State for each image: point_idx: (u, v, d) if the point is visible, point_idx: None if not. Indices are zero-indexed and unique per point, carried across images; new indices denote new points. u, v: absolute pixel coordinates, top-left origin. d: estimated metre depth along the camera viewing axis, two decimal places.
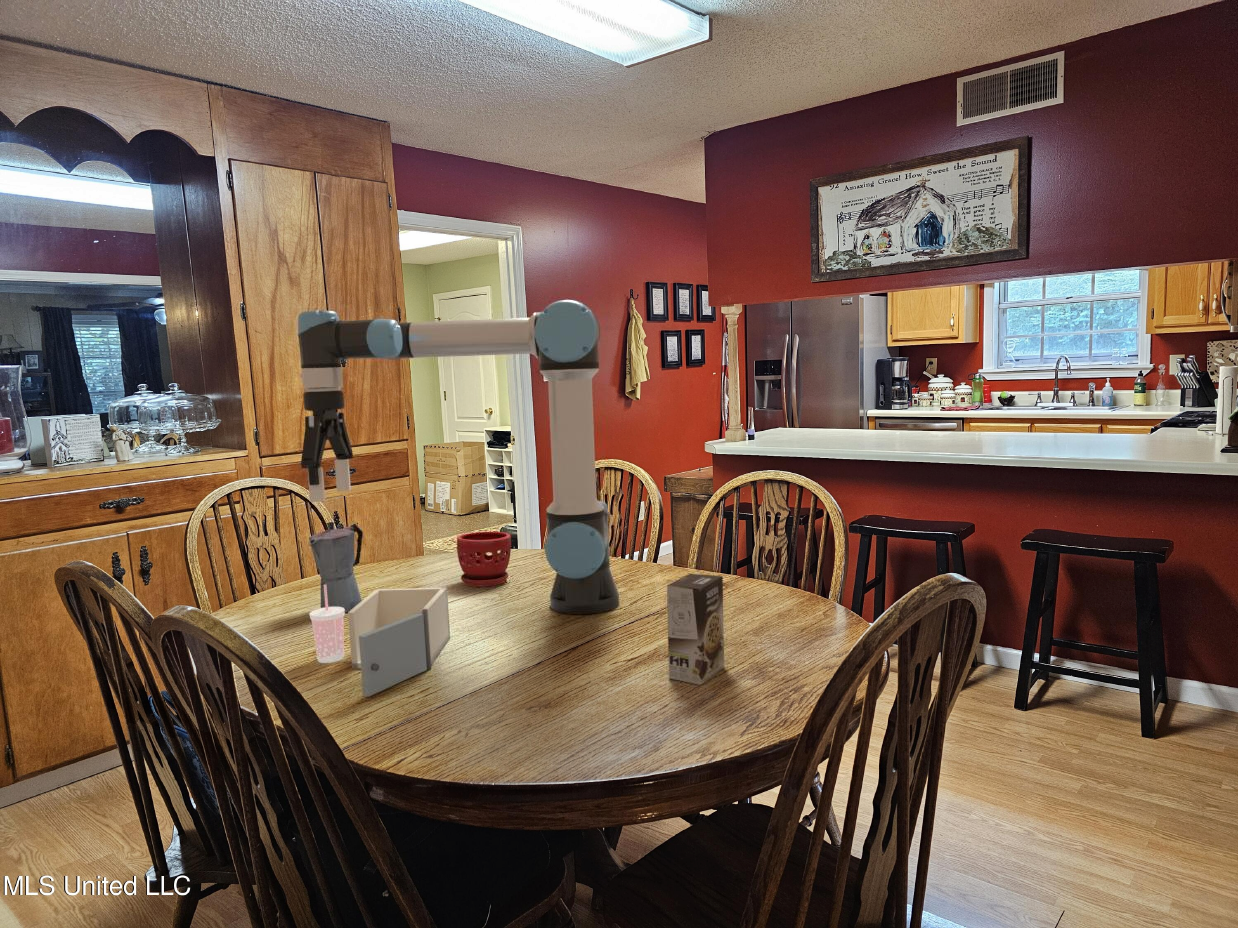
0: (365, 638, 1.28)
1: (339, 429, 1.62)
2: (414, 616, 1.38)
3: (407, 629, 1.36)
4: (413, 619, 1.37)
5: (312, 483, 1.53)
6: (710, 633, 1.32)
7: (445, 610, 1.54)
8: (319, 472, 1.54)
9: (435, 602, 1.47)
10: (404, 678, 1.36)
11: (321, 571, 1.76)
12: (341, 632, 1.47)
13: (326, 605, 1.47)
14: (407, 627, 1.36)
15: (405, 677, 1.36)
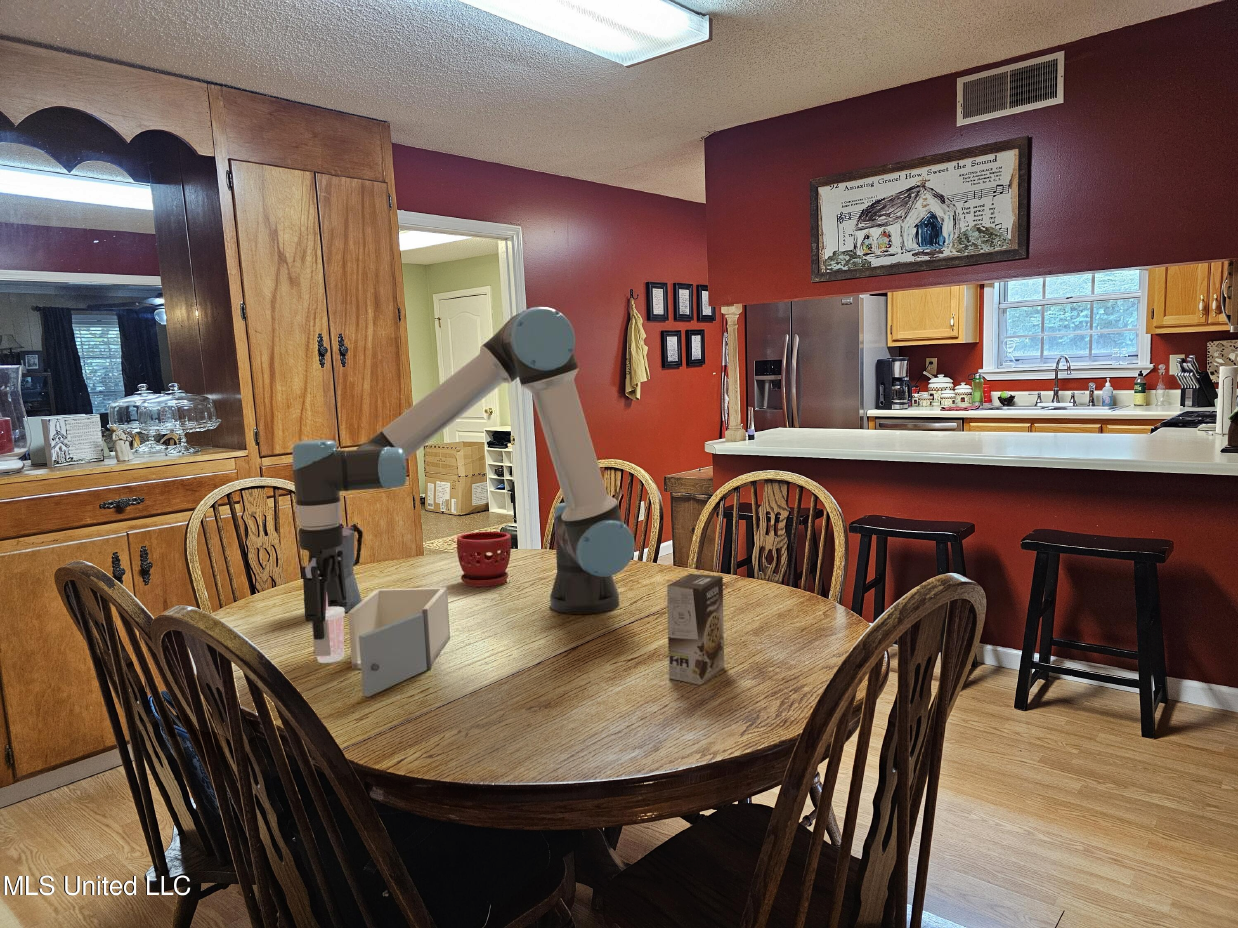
0: (365, 638, 1.28)
1: (336, 568, 1.48)
2: (414, 616, 1.38)
3: (407, 629, 1.36)
4: (413, 619, 1.37)
5: (317, 637, 1.43)
6: (710, 633, 1.32)
7: (445, 610, 1.54)
8: (324, 625, 1.44)
9: (435, 602, 1.47)
10: (404, 678, 1.36)
11: None
12: (341, 632, 1.47)
13: (326, 605, 1.47)
14: (407, 627, 1.36)
15: (405, 677, 1.36)
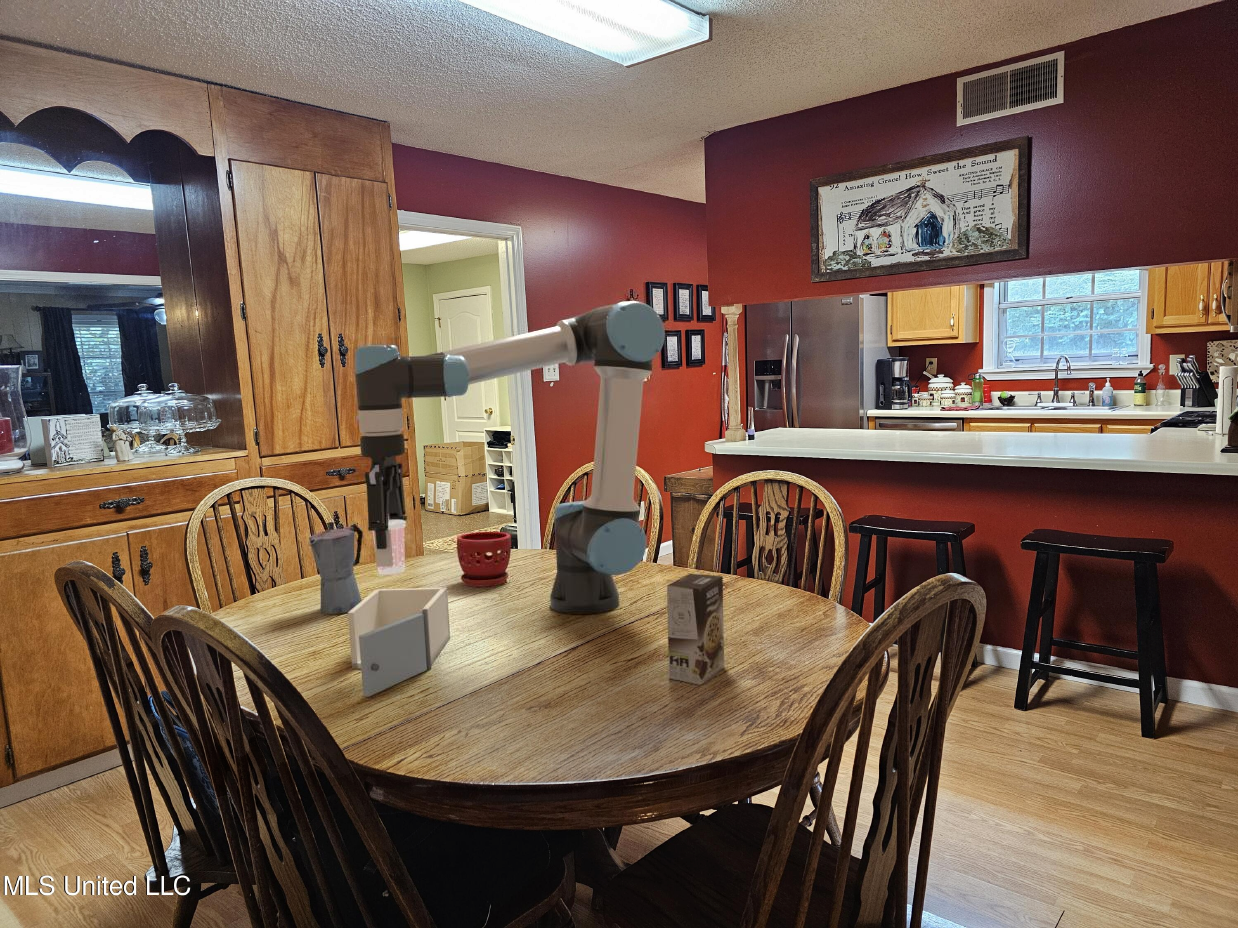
0: (365, 638, 1.28)
1: (397, 479, 1.44)
2: (414, 616, 1.38)
3: (407, 629, 1.36)
4: (413, 619, 1.37)
5: (380, 547, 1.39)
6: (710, 633, 1.32)
7: (445, 610, 1.54)
8: (386, 534, 1.40)
9: (435, 602, 1.47)
10: (404, 678, 1.36)
11: (321, 571, 1.76)
12: (402, 544, 1.43)
13: None
14: (407, 627, 1.36)
15: (405, 677, 1.36)
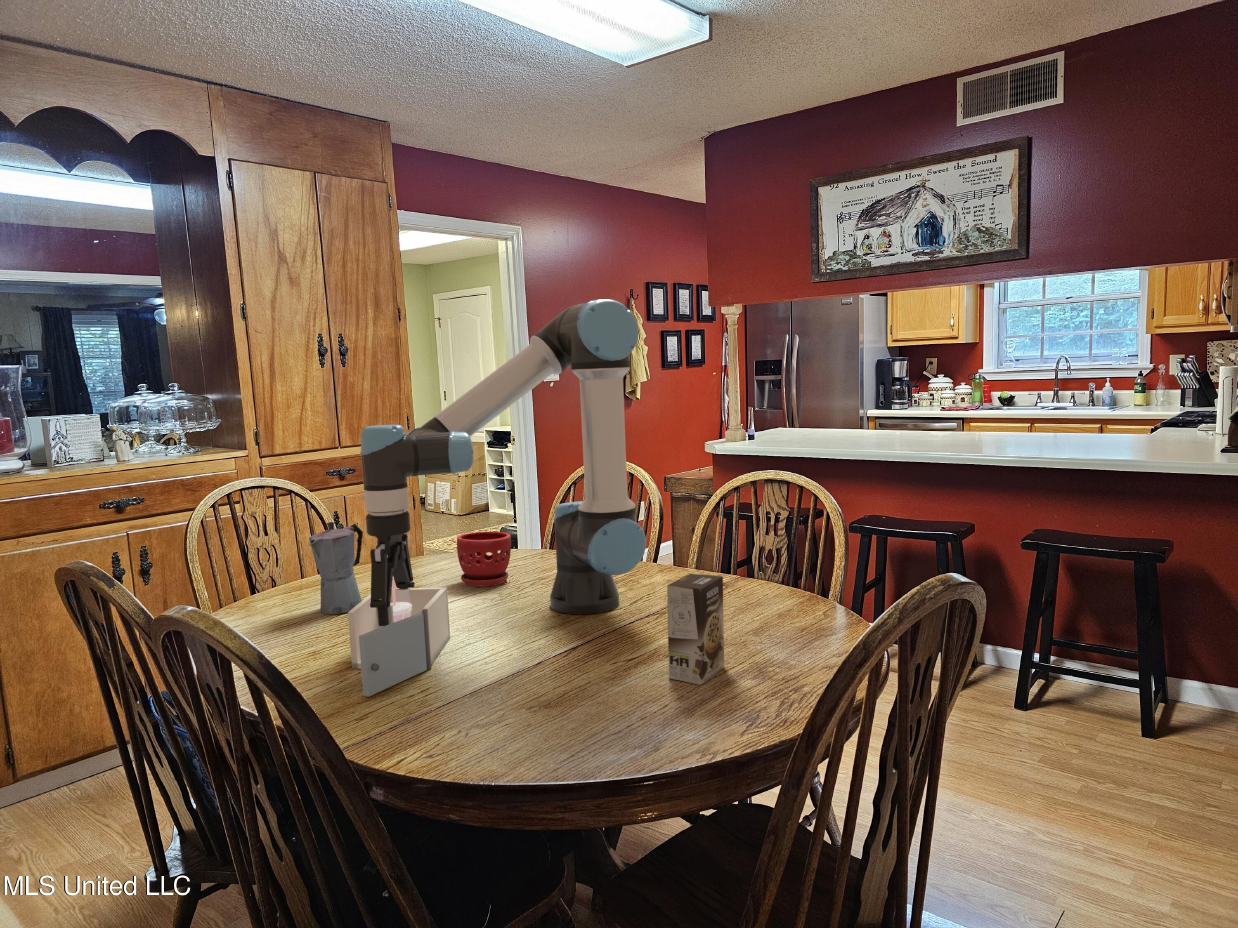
0: (365, 638, 1.28)
1: (403, 553, 1.46)
2: (414, 616, 1.38)
3: (407, 629, 1.36)
4: (413, 619, 1.37)
5: (382, 624, 1.39)
6: (710, 633, 1.32)
7: (445, 610, 1.54)
8: (388, 611, 1.39)
9: (435, 602, 1.47)
10: (404, 678, 1.36)
11: (321, 571, 1.76)
12: None
13: (394, 600, 1.45)
14: (407, 627, 1.36)
15: (405, 677, 1.36)
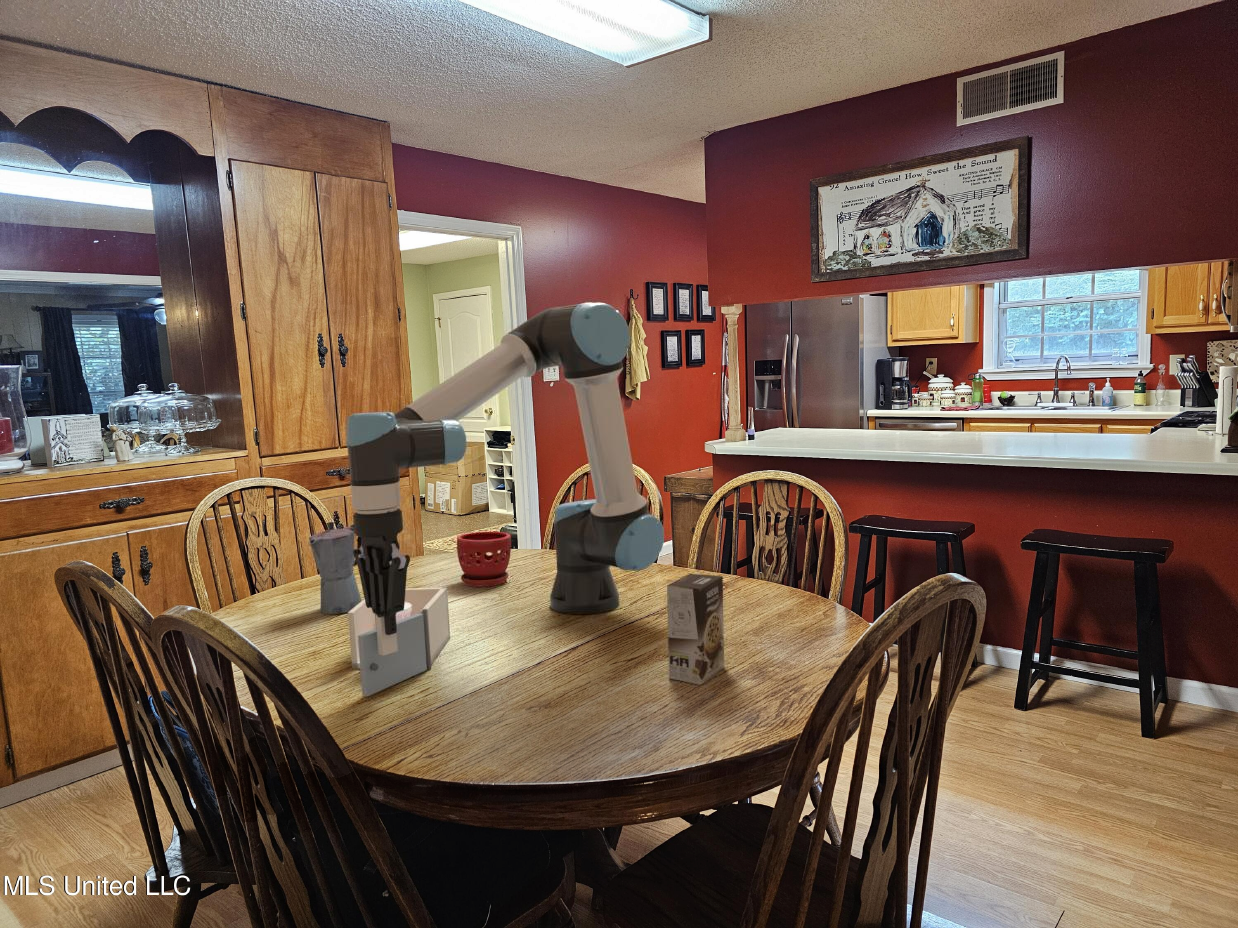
0: (364, 638, 1.28)
1: (376, 564, 1.27)
2: (414, 616, 1.38)
3: (407, 629, 1.36)
4: (413, 619, 1.37)
5: None
6: (710, 633, 1.32)
7: (445, 610, 1.54)
8: None
9: (435, 602, 1.47)
10: (404, 678, 1.36)
11: (321, 571, 1.76)
12: None
13: None
14: (407, 627, 1.36)
15: (405, 677, 1.36)
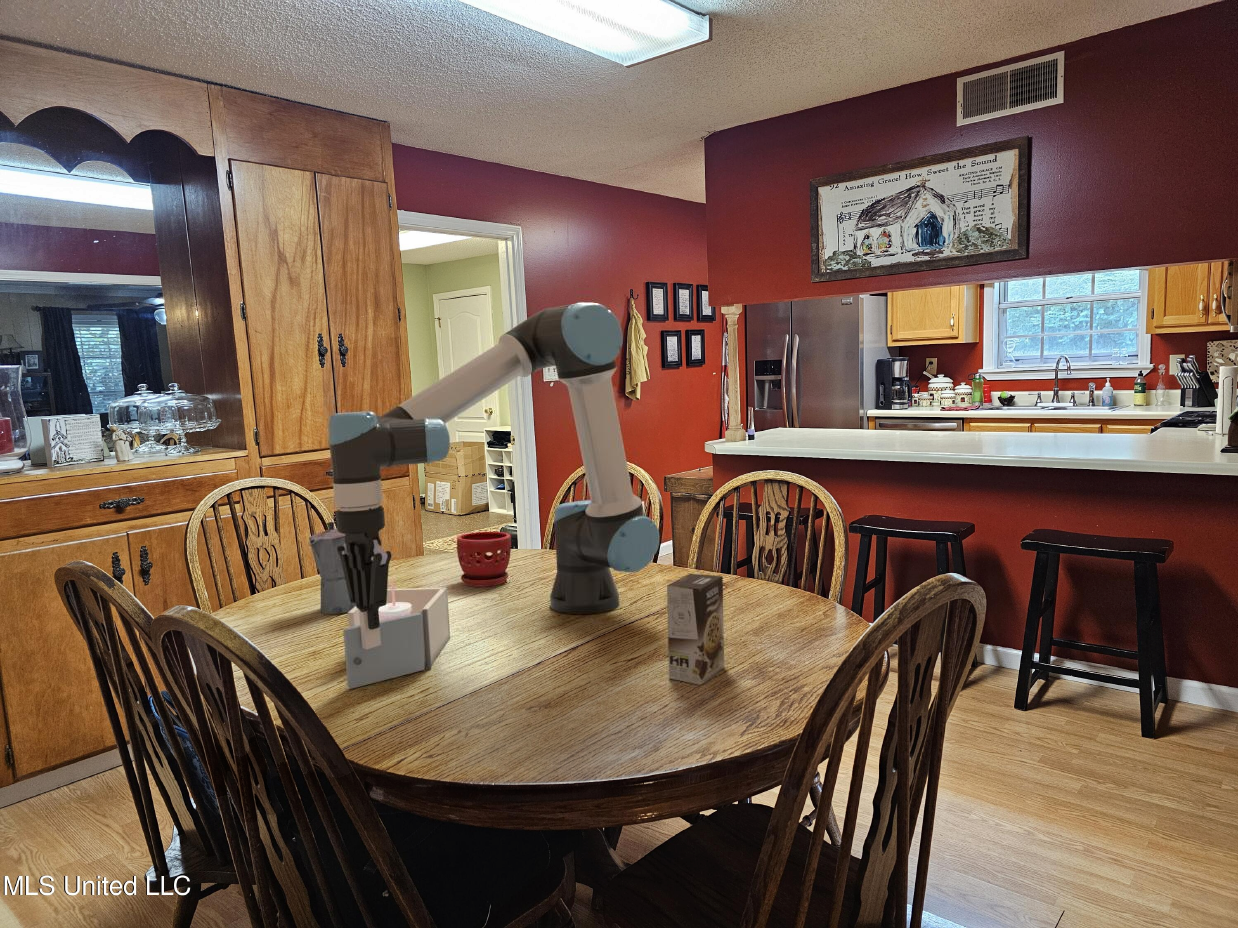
0: (347, 632, 1.32)
1: (358, 560, 1.30)
2: (411, 615, 1.39)
3: (400, 627, 1.37)
4: (408, 618, 1.38)
5: None
6: (710, 633, 1.32)
7: (445, 610, 1.54)
8: None
9: (435, 602, 1.47)
10: (395, 675, 1.37)
11: (321, 571, 1.76)
12: None
13: (393, 600, 1.45)
14: (400, 625, 1.37)
15: (396, 674, 1.37)
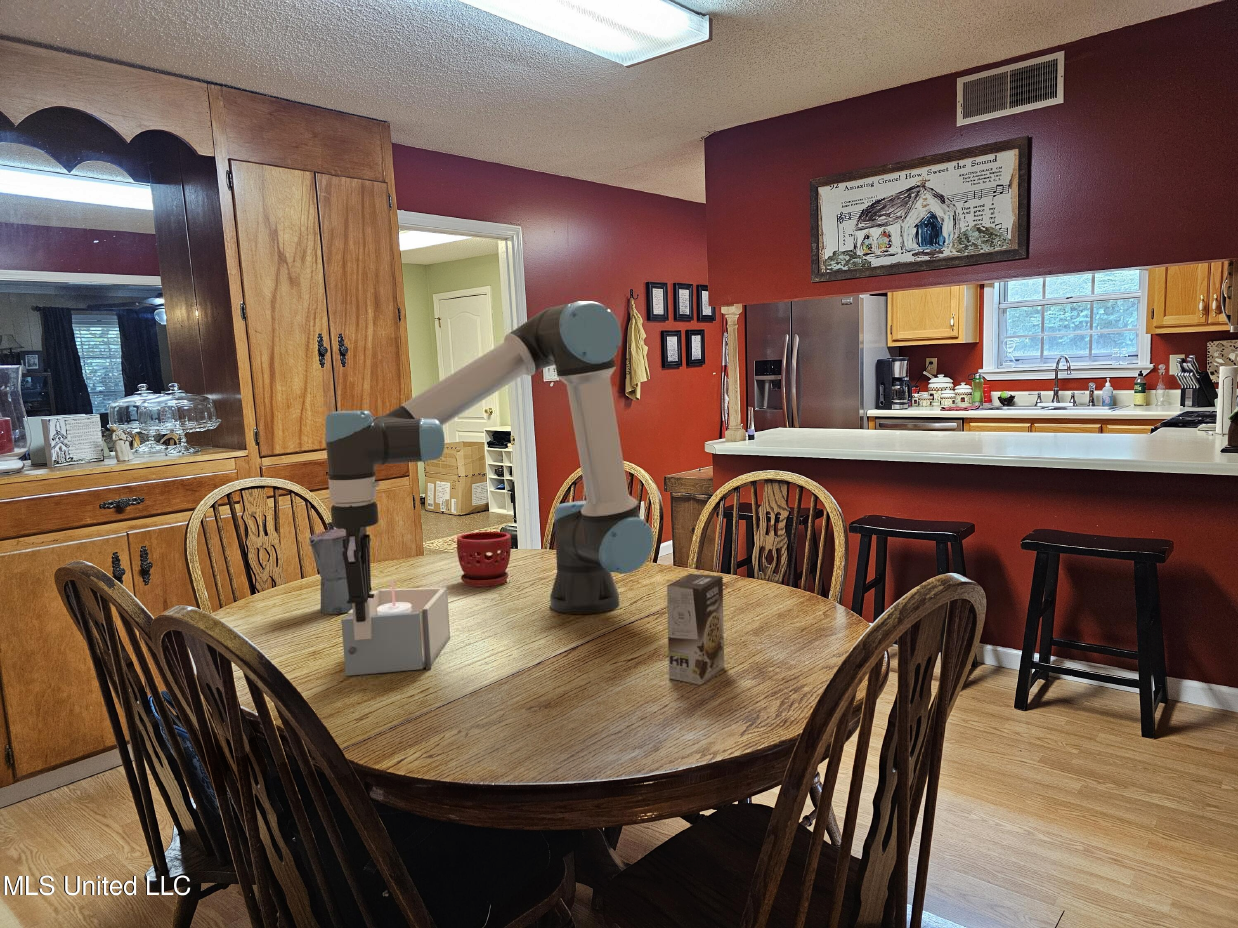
0: (343, 621, 1.38)
1: None
2: (409, 613, 1.40)
3: (396, 624, 1.39)
4: (405, 616, 1.39)
5: None
6: (710, 633, 1.32)
7: (445, 610, 1.54)
8: None
9: (435, 602, 1.47)
10: (391, 670, 1.40)
11: (321, 571, 1.76)
12: None
13: (393, 600, 1.45)
14: (396, 622, 1.39)
15: (393, 669, 1.40)
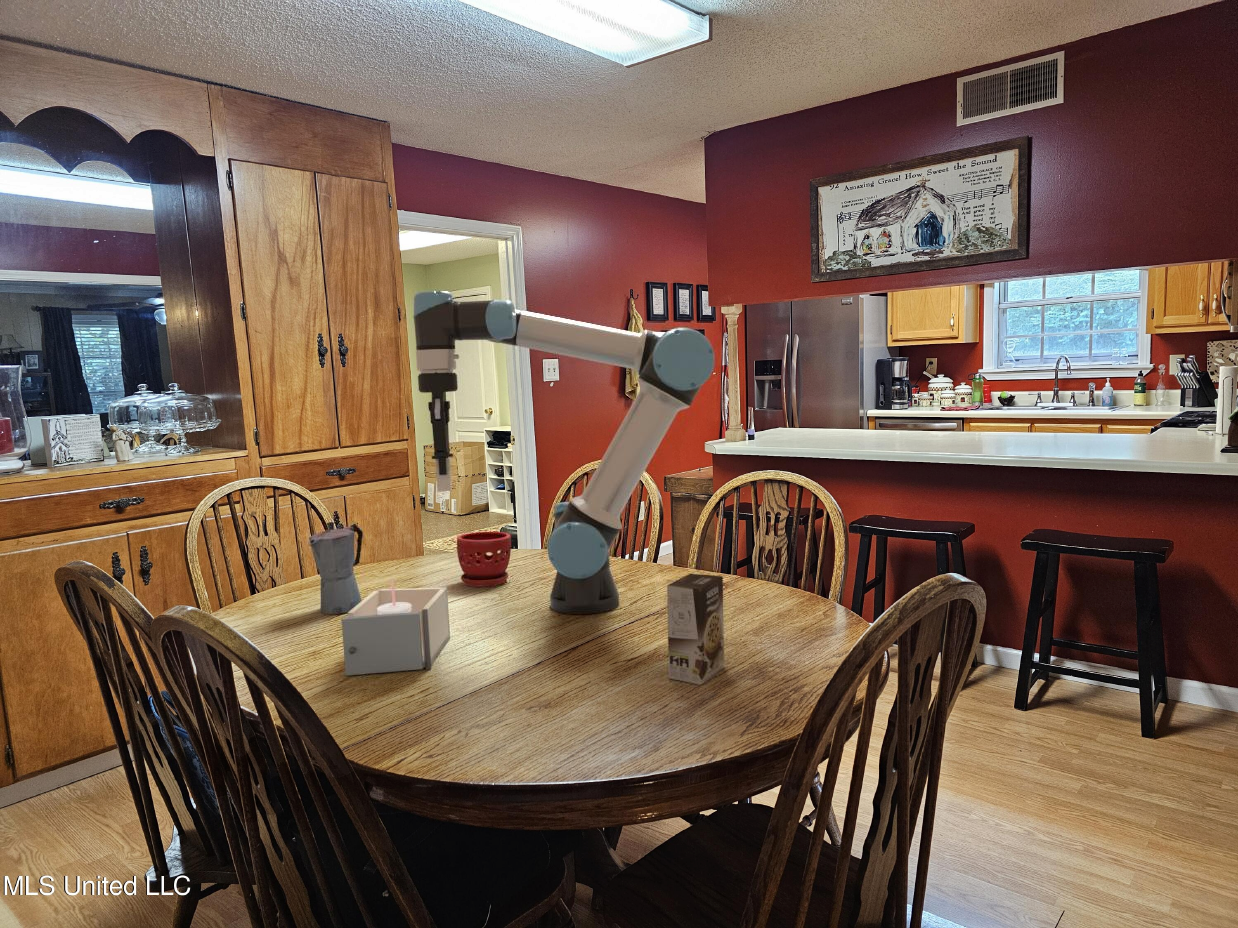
0: (343, 621, 1.38)
1: (430, 416, 1.57)
2: (409, 613, 1.40)
3: (396, 624, 1.39)
4: (405, 616, 1.39)
5: None
6: (710, 633, 1.32)
7: (445, 610, 1.54)
8: None
9: (435, 602, 1.47)
10: (391, 670, 1.40)
11: (321, 571, 1.76)
12: None
13: (393, 600, 1.45)
14: (396, 622, 1.39)
15: (393, 669, 1.40)
